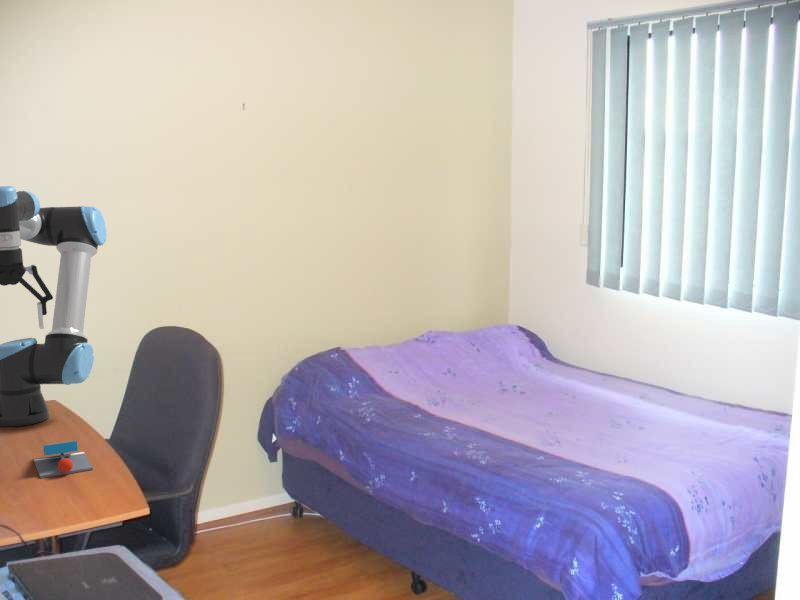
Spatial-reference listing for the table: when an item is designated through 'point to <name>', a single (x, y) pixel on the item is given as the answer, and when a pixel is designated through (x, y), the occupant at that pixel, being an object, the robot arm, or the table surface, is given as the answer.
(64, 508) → the table surface
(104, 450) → the table surface
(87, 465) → the mat
